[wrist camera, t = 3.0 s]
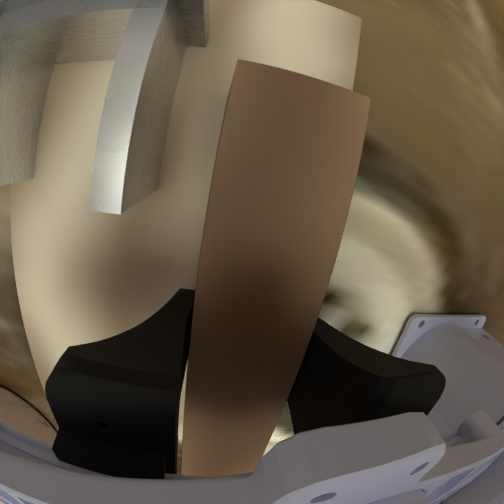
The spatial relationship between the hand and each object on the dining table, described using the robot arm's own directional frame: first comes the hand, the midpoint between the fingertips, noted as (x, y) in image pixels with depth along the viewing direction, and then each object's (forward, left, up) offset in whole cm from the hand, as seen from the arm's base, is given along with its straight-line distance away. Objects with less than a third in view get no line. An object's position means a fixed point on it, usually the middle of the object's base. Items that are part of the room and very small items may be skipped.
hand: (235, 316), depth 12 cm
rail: (0, 0, -1) cm, 1 cm away
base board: (+4, -2, -2) cm, 5 cm away
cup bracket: (+7, -8, -1) cm, 10 cm away
